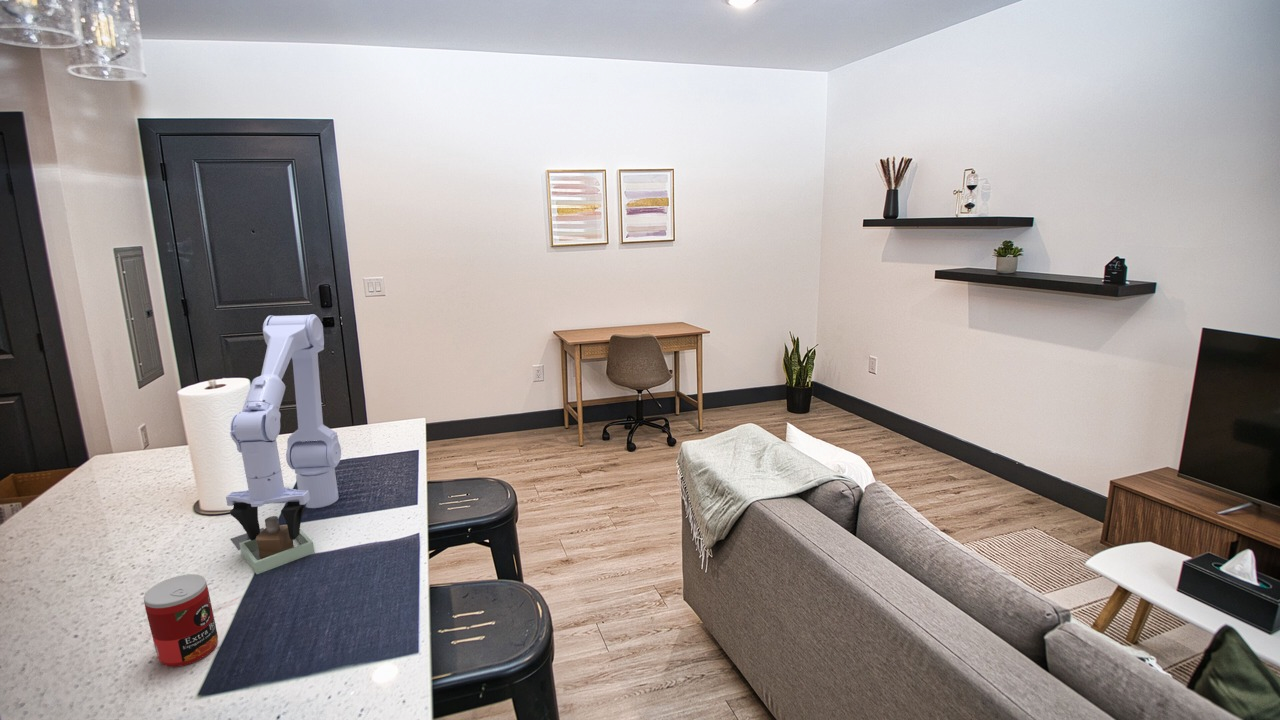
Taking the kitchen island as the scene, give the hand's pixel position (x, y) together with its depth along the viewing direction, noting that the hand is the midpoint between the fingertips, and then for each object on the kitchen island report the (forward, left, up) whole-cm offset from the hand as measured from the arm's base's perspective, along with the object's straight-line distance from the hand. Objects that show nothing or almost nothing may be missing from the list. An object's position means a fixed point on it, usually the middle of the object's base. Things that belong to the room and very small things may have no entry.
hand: (275, 537), depth 121 cm
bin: (0, 0, -5) cm, 5 cm away
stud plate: (-10, -2, -5) cm, 11 cm away
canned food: (+18, -18, -5) cm, 26 cm away
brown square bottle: (0, 0, -4) cm, 4 cm away
